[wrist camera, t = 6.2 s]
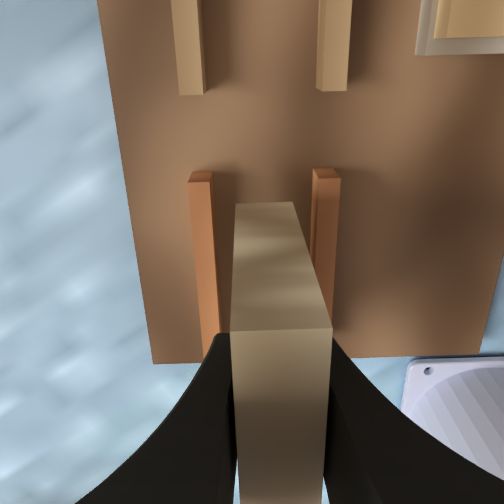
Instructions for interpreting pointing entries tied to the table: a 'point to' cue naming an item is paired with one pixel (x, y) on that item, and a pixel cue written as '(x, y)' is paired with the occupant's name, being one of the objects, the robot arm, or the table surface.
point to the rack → (309, 165)
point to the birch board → (278, 358)
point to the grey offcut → (449, 45)
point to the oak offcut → (469, 19)
